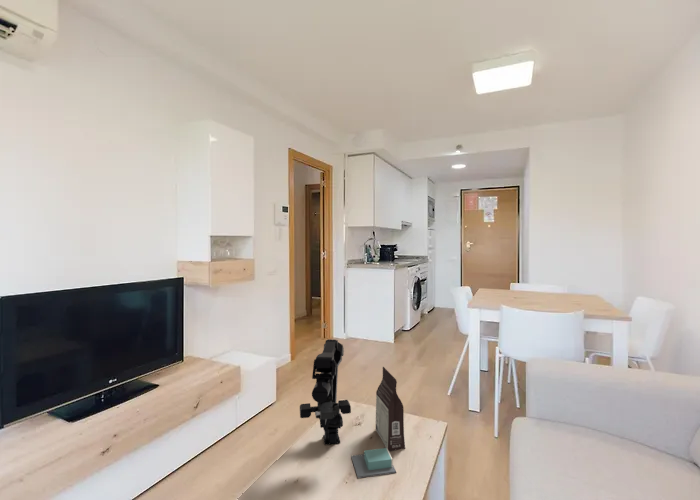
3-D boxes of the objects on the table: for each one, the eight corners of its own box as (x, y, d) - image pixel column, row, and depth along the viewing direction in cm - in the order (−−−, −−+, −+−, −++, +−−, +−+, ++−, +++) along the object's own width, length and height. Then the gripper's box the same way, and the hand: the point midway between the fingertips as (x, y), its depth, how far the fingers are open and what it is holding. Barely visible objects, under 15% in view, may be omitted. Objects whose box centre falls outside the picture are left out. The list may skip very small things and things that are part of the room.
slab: (364, 450, 133) (387, 447, 135) (364, 458, 133) (387, 455, 135) (368, 462, 126) (392, 459, 128) (368, 470, 126) (392, 467, 128)
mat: (351, 457, 135) (351, 455, 135) (386, 452, 138) (386, 451, 138) (357, 478, 123) (357, 476, 123) (396, 472, 126) (396, 471, 126)
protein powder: (407, 448, 140) (407, 379, 139) (386, 452, 138) (386, 382, 137) (392, 427, 156) (391, 364, 155) (373, 430, 154) (372, 367, 153)
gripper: (300, 402, 122) (301, 446, 122) (353, 397, 125) (353, 440, 126) (299, 388, 133) (299, 429, 133) (348, 384, 136) (348, 424, 136)
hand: (325, 430), depth 132 cm, fingers closed
